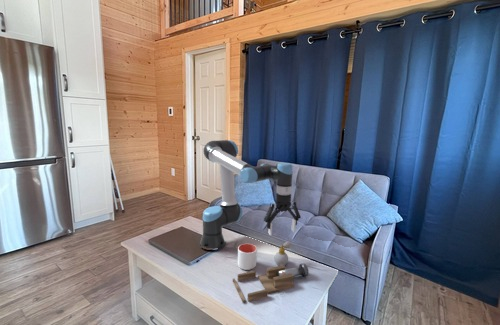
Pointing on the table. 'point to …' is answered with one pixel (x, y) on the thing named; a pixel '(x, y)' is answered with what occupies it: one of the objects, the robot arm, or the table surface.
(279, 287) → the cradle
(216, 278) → the table surface
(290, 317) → the table surface
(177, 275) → the table surface
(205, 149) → the robot arm
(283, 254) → the perfume bottle
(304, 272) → the shaft
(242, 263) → the cup
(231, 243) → the table surface
